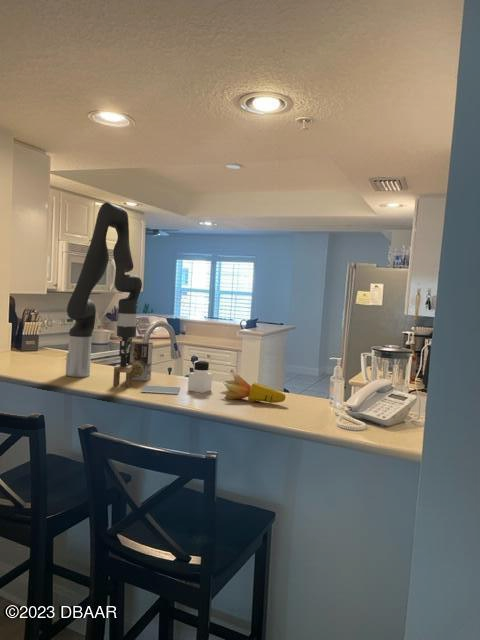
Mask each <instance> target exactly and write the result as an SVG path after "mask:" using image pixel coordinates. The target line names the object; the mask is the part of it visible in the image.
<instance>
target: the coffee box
mask: <svg viewBox="0 0 480 640" xmlns="http://www.w3.org/2000/svg"><path fill="white" fill-rule="evenodd" d="M153 346H154V345H153V342H148V341H147V342H146V341H133V340H132V352H131V354H130V363H129V364H127V365H132V380H131V381H142V382H143V381H144V382H145V381H146V382H147V381H150V380H151V379H152V364H153V363H152V362H153Z"/></svg>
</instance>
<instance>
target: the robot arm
mask: <svg viewBox="0 0 480 640" xmlns="http://www.w3.org/2000/svg"><path fill="white" fill-rule="evenodd" d="M129 221H130V220H129V214H128V212H127V210H126V209H125V208H123V207H121V206H119V205H117V204H114V203H111V202H108V201H107V202H104V203H102V205H101V206H100V208H99V210H98V212H97V215H96V220H95V224H94V228H93V229H94V230H93V233H92V238H91V241H90V244H89V247H88V250H87V252H86V255H85V257H84V258H85V259H84V261H83V264H82V268H81V270H80V273H79V276H78V279H77V282H76V285H75V287H74V289H73V292H72V295H71V296H70V298H69V300H68V303H67V306H66V313H67V316H68V318H69V319H70V320H72V321H75V323H74V324H73V326H72V327H71V328H70V329H69V334H68V352H67V353H66V358H65V359H66V361H65V376H66V377H72V378H73V377H74V378H85V377H89V376H90V375H91V359H92V358H91V357H92V356H91V355H92V338H93V332H94V329H95V325H96V324H95V323H96V305H95V303H94V301H93V300H91V299H89V298H90V295H91V293H92V291H93V289H94V288H95V287H96V285H97V284H98V283H99V282H100V281H101V280H102V278H103V276H105V273H106V270H107V266H108V264H109V261H110V255H109V250H108V244H107V235H108V230H109V228H113V229H115V231H116V234H117V239H116V243H115V244H114V246H113V251H112V254H113V255H112V256H113V261H114V266H115V275H114V282H113V283H114V288H115V289H116V291H118V292H119V293H128V296H127V297H124V298H120V299H119V301H118V305H117V306H118V307H117V308H118V311H117V319H116V320H117V321H116V336H117V337H119V338H121V340H119V353H118V356H119V357H120V362H119V363H120V364H119V365H120V366H121V367H126V365H128V364H129V363H130V354H131V352H132V342H133V338H135V337H136V336H137V323H138V322H137V321H138V320H137V319H138V318H137V303H138V301H139V298H140V294H141V291H142V287H143V283H142V282H143V280H142V278H140V276H139V275H136V274H126V273H130V272H131V271H133V269H134V261H133V257H132V251H131V247H130V227H129V225H130V224H129Z"/></svg>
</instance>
